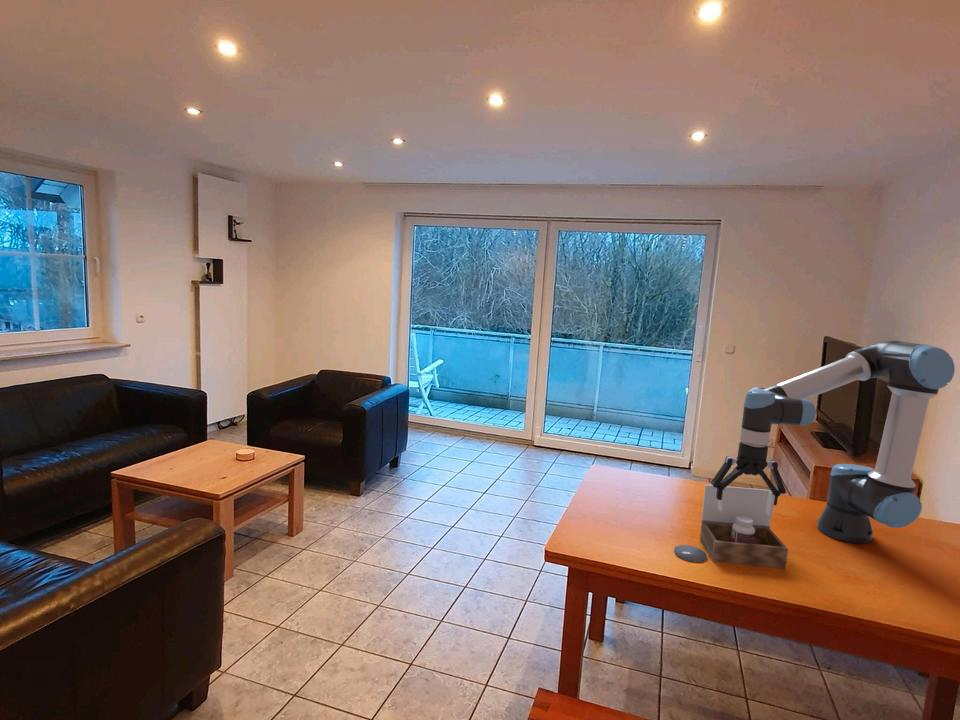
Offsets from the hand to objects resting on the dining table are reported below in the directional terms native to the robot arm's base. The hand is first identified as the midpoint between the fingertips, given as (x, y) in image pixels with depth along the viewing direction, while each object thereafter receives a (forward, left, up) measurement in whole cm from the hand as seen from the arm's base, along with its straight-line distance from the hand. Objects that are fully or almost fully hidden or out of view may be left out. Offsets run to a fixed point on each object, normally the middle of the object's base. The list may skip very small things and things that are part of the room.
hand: (744, 512), depth 158 cm
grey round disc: (+15, +3, -13) cm, 20 cm away
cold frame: (0, -2, -13) cm, 13 cm away
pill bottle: (0, 0, -13) cm, 13 cm away
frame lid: (0, -7, -7) cm, 10 cm away
